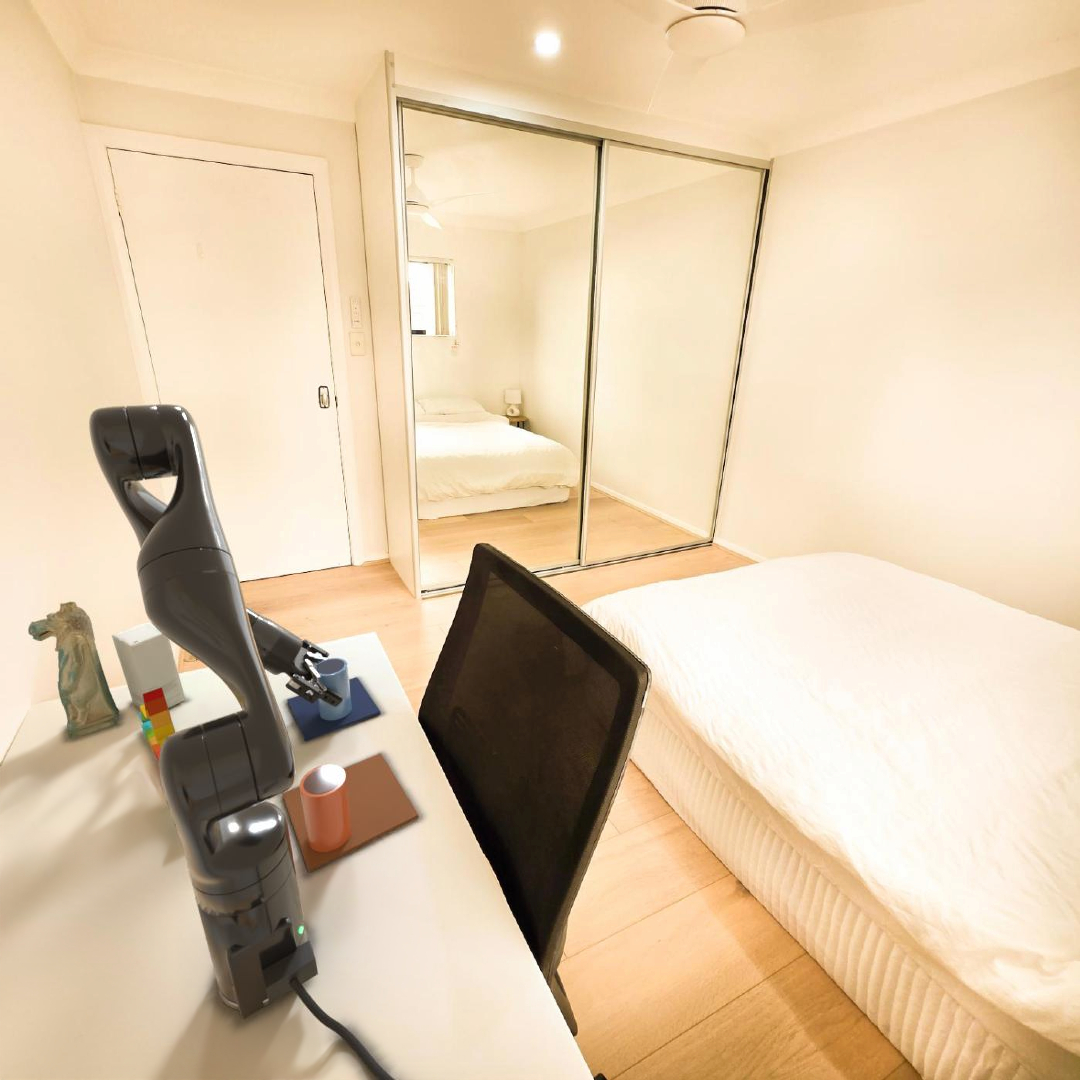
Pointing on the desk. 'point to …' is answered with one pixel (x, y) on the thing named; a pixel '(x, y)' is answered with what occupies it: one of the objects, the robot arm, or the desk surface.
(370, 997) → the desk surface
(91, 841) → the desk surface
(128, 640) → the cosmetic box
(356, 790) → the brown mat
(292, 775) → the robot arm
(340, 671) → the blue tumbler
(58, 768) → the desk surface
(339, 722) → the navy mat
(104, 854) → the desk surface
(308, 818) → the terracotta tumbler
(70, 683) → the statue
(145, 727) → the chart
